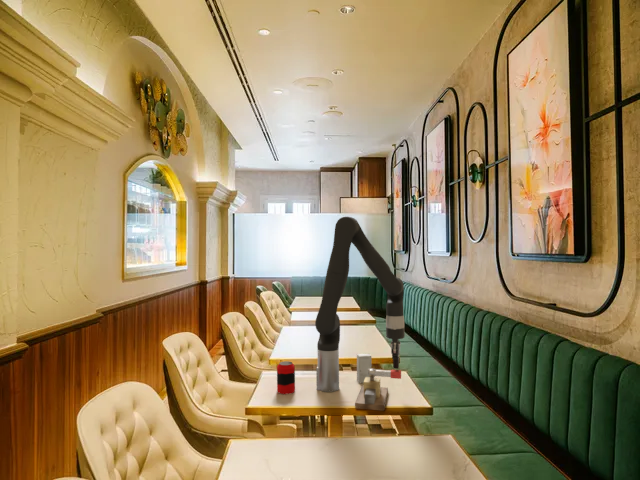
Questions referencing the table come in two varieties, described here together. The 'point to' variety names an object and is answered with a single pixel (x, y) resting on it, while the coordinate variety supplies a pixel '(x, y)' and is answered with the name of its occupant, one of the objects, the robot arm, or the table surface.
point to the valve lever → (384, 373)
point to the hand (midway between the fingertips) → (396, 368)
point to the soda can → (285, 377)
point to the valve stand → (372, 395)
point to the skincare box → (363, 366)
